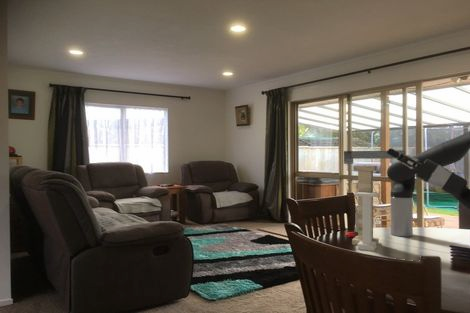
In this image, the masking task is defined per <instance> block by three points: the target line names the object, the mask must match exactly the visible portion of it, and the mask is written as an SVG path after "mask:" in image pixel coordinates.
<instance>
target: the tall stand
mask: <svg viewBox="0 0 470 313" xmlns="http://www.w3.org/2000/svg"><path fill="white" fill-rule="evenodd" d="M352 167H353V169H352V170H353V171H354V172H355V171H356V172H357V176H358V177H357V192H367V193H374V172H377V171H378V165H364V164H363V165H353V166H352ZM357 208H358V236H356V237H352V240H351V244H352V245H353V246H354V245H356V246H357V244H358V243H359V242H360V241H362V196H357ZM379 240H380V239H379V237H374V197H372V242H375V243H376V247H377V246H378V245H379V244H380V242H379Z"/></svg>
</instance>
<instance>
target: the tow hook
mask: <svg viewBox="0 0 470 313" xmlns="http://www.w3.org/2000/svg"><path fill="white" fill-rule="evenodd" d="M354 214H355V216H354V218H355V219H354V220H355V222H354V223H355V224H354V231H346V232H345V234H344V235H345V236H347V237H348V238H354V237H356V236H358V207H357V208H355V213H354Z"/></svg>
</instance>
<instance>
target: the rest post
mask: <svg viewBox="0 0 470 313" xmlns="http://www.w3.org/2000/svg"><path fill="white" fill-rule="evenodd" d="M358 196H362V241H360V242H359V243H358V244H357V245H356V246H357V250H360V251H369V252H375V250H376V249H377V246H376V243H375V242H372V197H373V198H378V197H379V196H380V192H373V193H367V192H358V191H357V192H354V197H358Z"/></svg>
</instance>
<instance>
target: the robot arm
mask: <svg viewBox="0 0 470 313" xmlns="http://www.w3.org/2000/svg"><path fill="white" fill-rule="evenodd" d="M395 150H396V149H393V148H388V150H387V151H388V152H387V154H389V155H391V156H393V157H395V158H396V157H397V158H396V160H397V161H396V162H393V163H392V164H390V165H389V166H388V167H387V169H386V176H387V177H388V179H389V180H391V181H392V182H394V186H393V188H392V189H391V190H390V235H392V236H396V237H404V238H405V237H412V236H414V234H413V231H414V230H413V228H414V227H413V226H414V222H413V221H414V219H413V218H414V217H413V216H414V210H413V209H414V207H413V206H414V205H413V204H414V203H413V201H414V200H413V196H414V195H413V194H414V192H415V187H416V178H418V179H419V180H421V181H423V182H425V183H427V184H429V185H430V186H433V187H435V188H438V189H440V190H442V191H444V192H446V193H447V194H449V195H452V197H454V198H455V199H456V200H457V201H458V202H459V203H461V204H462V205H463V206H464V207H465V208H467V209H469V210H470V188H469V187H468V180H467V179H465V178H464V177H462V176H461V175H458V174H457V173H455V172H452V171H451V170H449V169H447V168H446V167H447V166H449V165H452V164H455V163H457V162H459V161H461V160H462V159H463V158H464V157H465V156H466V155H467V153H468V152H469V150H470V130H469V131H467V132H465V133H463V134H461V135H458V136H456V137H454V138H452V139H451V138H450V139H449V140H446V141H444V142H442V143H439V144H437V145H435V146H433V147H430V148H429V149H426V150H424V151H422V152H420V153H418V154H416V155H414V156H411V155H408V154H405V155H403V154H402V153H398V152H397V151H395ZM402 157H405V158H404V159H402Z"/></svg>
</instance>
